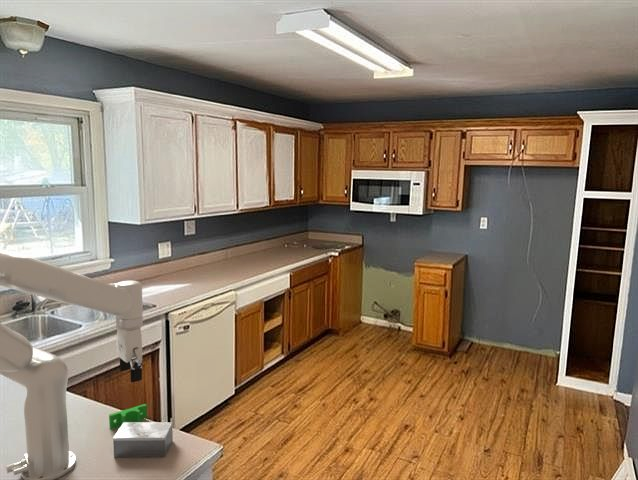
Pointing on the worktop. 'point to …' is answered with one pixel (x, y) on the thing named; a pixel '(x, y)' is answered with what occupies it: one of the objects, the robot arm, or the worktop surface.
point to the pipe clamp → (128, 416)
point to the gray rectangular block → (143, 440)
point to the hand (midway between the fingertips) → (130, 375)
